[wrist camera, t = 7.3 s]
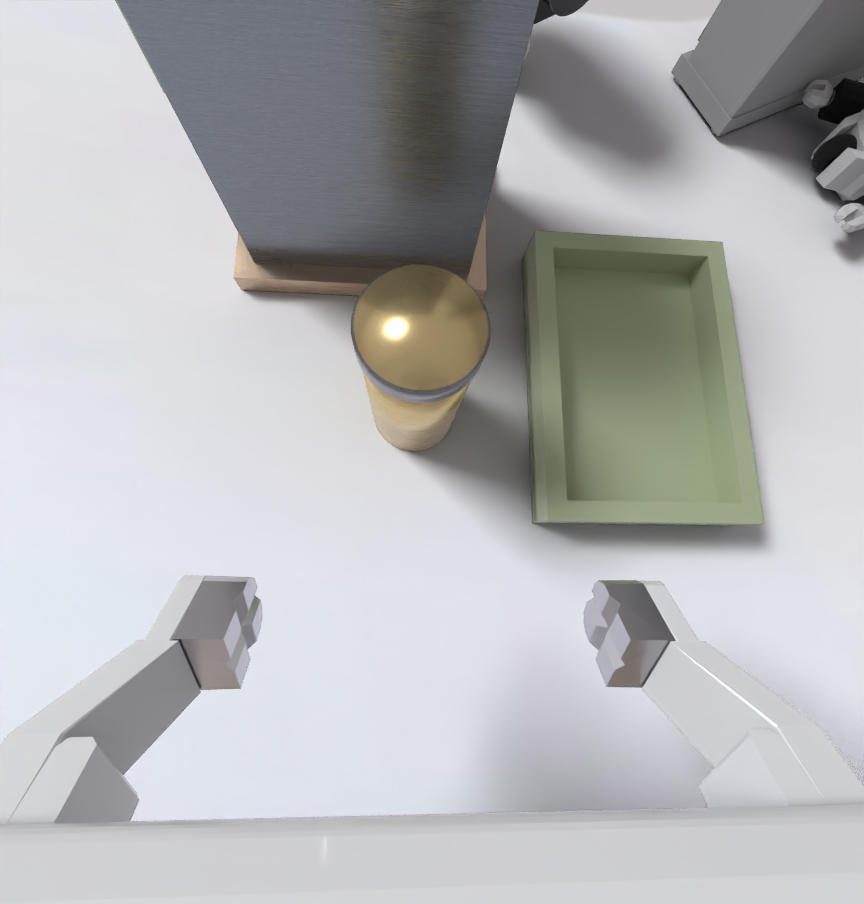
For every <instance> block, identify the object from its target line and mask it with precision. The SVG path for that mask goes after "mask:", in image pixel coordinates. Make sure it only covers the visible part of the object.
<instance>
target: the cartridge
mask: <svg viewBox="0 0 864 904" xmlns="http://www.w3.org/2000/svg"><path fill="white" fill-rule="evenodd" d="M351 335H352V341H353V345H354V349H355V353H356V356H357V359H358V362H359V364H360V366H361V368H362V370H363V374H364V378H365V382H366V387H367V391H368V395H369V399H370V404H371V408H372V412H373V416H374V420H375V424H376V427H377V429H378V431H379V432H380V434H381V435H382V437H383V438H384V439H385V440H386V441H387V442H389V443H390V444H391V445H393V446H395V447H397V448H399V449H402V450H407V451H420V450H425V449H428V448H430V447H432V446H434V445H436V444H437V443H439V442H440V441H441V440H442V439H443V438H444V437H445V435H446V434H447V432H448V431H449V429H450V426H451V424H452V422H453V420H454V417H455V415H456V413H457V411H458V408H459V406H460V404H461V401H462V399H463V397H464V395H465V392H466V390H467V388H468V386H469V383H470V381H471V380H472V379H473V377H474V376H475V375H476V373H477V371H478V369H479V367H480V365H481V363H482V361H483V359H484V357H485V354H486V352H487V349H488V346H489V340H490V320H489V316H488V312H487V310H486V307H485V305H484V303H483V301H482V299H481V297H480V296H479V295H478V293H477V292H476V290H475V289H474V288H473V287H472V286H471V285H470V284H469V283H468V282H466V281H465V280H464V279H463V278H461V277H460V276H458V275H457V274H455V273H453V272H451V271H449V270H446V269H443V268H440V267H437V266H432V265H424V264H412V265H405V266H401V267H397V268H394V269H391V270H389V271H387V272H385V273H383V274H381V275H380V276H378V277H377V278H375V279H374V280H373V281H372V282H371V283H370V284H369V285H367V287H366V288H365V289H364V290H363V292H362V293H361V295H360V296H359V298H358V300H357V302H356V304H355V307H354V310H353V313H352V319H351Z"/></svg>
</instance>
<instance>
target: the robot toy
mask: <svg viewBox="0 0 864 904" xmlns="http://www.w3.org/2000/svg"><path fill="white" fill-rule="evenodd" d="M804 93H805V94H804V95H803V98H802V99H803V104H805V105H806V106H808V107H809V108H811V109H815V108H820V110H819V113H818V118H819V119H822V120H825V121H828V122H832V123H835V124H838V126H837V127H836V128H835V129H834V130H833V131H832V132H831V133H830V134H829V135H828V136H827V137H826V138H825V139H824V140H823V141H822V142H821V143H820V144H819V145H818V147H817V148H816V149H815V150H814V151H813V154H812V157H811V160H812V165H813V167H814V169H815V170H816V171H818V172H822V173H821V174H820V175H818V176H817V177H816V178H815V179H816V180H817V181H818V182H819V183H820V184H821V185H822V186H823V188H826V189H830V190H834V191H836V192H837V194H838V195H839V197H840V198H841V200H842V201H846V200H854V201H853V202H852V203H850V204H847V205H844V206H843V207H842V208H840V209H839V210H838V211H837V213H836V214H835V216H834V218H835V220H836V222H837V223H839V222H840V221H842V220H845V222H846V223H845V224H844V225H843V226H841V228H842V229H843V230H844V231H845V232H846V233H849V232H853V231H857V230H861V229H863V228H864V83H861V82H857V81H854V80H851V79H847V78H844V79H843V80H842V81H841V82H840V83H839V84H838V85H837V86H836V87H835V88H833V87H832V85H831V84H830V83H829V82H828V81H827V80H814V81H813V82H811V83H810V84H809V85H808V86H807V87H806V89H805V91H804Z"/></svg>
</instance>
